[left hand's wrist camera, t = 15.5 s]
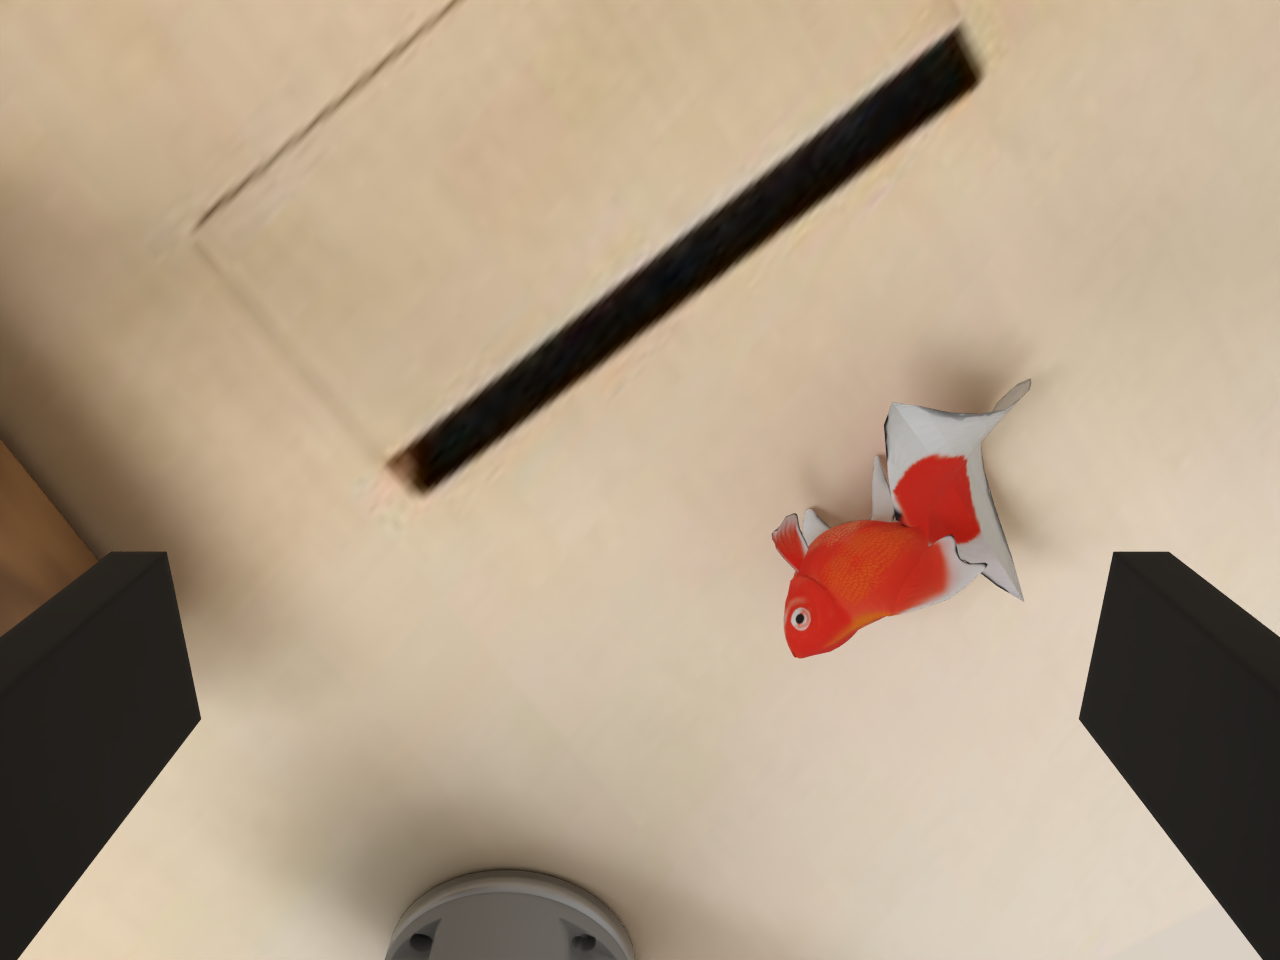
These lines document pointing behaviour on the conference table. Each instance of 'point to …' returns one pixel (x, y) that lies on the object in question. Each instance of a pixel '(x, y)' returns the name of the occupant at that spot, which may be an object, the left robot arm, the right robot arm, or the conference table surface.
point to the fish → (901, 532)
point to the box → (32, 545)
